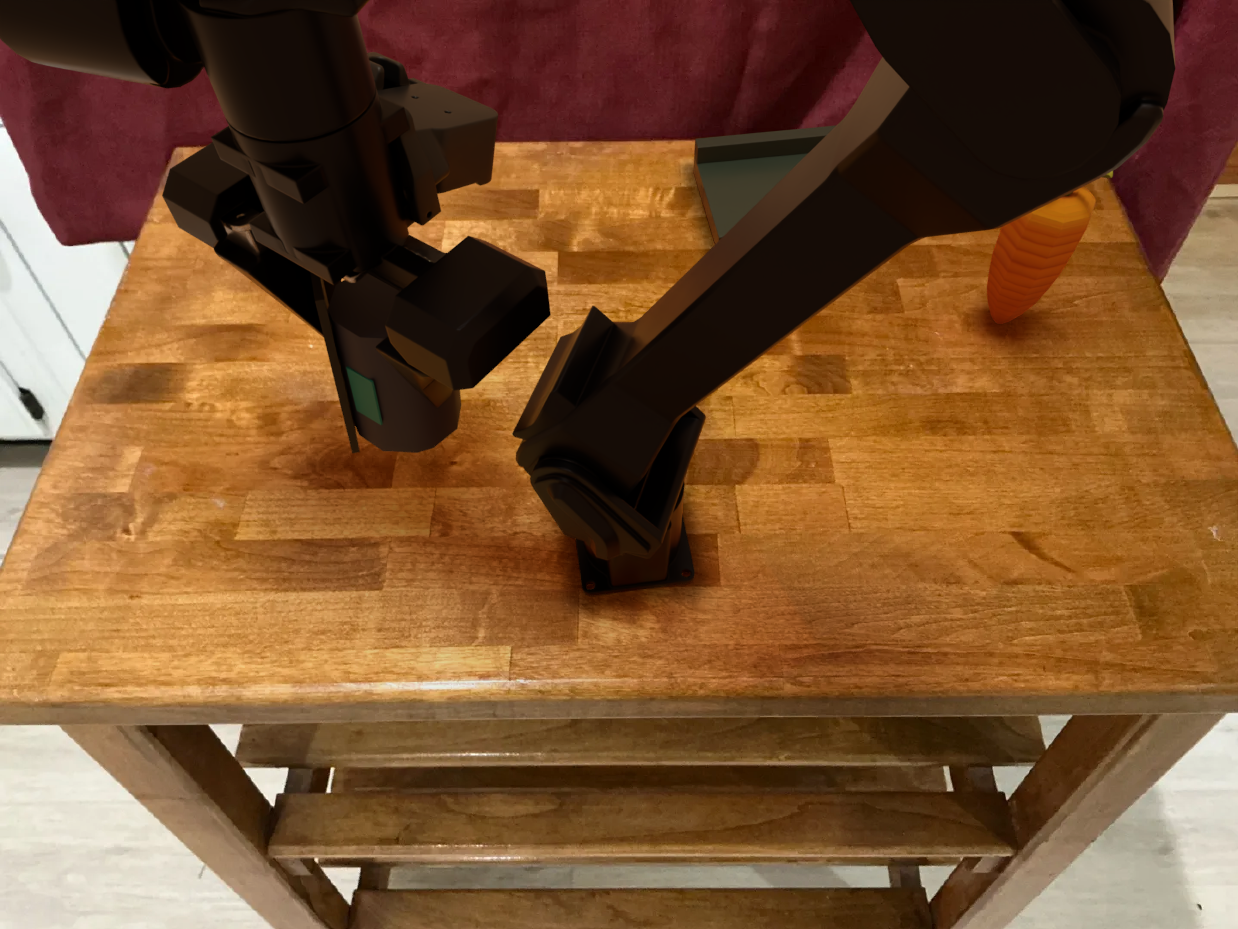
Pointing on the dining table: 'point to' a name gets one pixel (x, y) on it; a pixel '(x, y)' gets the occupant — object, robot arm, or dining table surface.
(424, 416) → the speaker
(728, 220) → the dark grey square base
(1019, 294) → the carrot
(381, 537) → the dining table surface
